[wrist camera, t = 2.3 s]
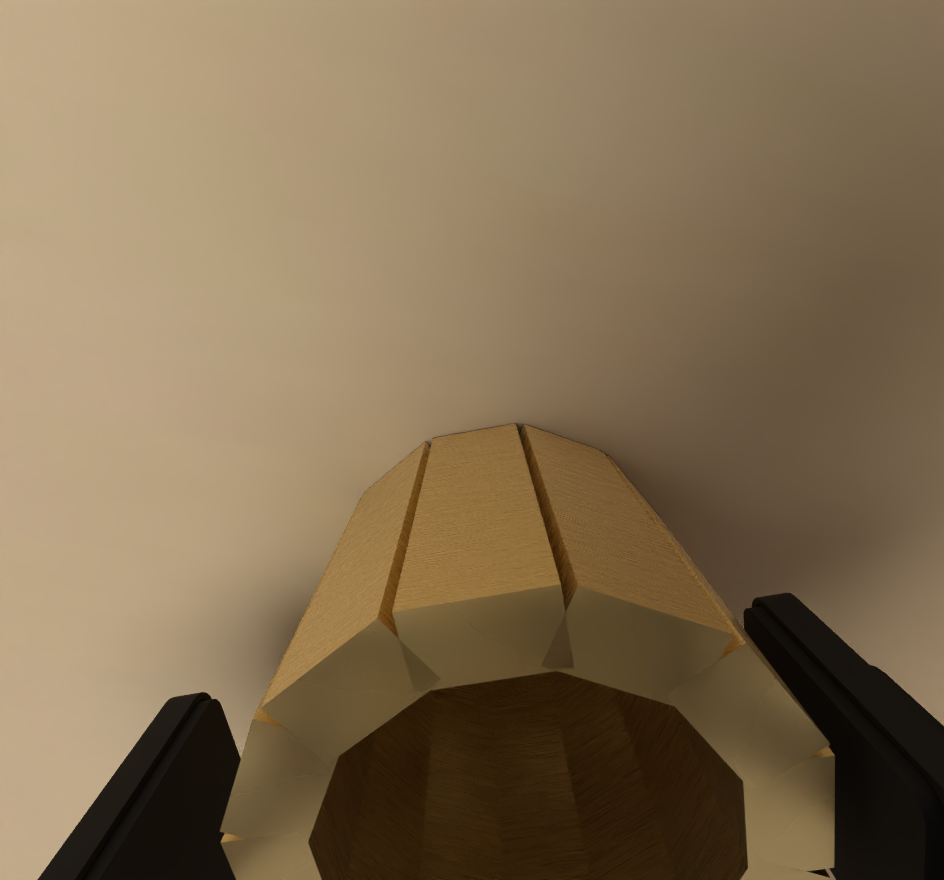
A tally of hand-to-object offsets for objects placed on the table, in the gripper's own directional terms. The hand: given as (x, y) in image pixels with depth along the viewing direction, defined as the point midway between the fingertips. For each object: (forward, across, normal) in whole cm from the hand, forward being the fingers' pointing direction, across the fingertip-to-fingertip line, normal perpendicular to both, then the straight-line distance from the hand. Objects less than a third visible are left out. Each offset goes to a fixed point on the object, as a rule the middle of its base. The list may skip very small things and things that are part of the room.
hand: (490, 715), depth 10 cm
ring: (+3, -1, -1) cm, 3 cm away
